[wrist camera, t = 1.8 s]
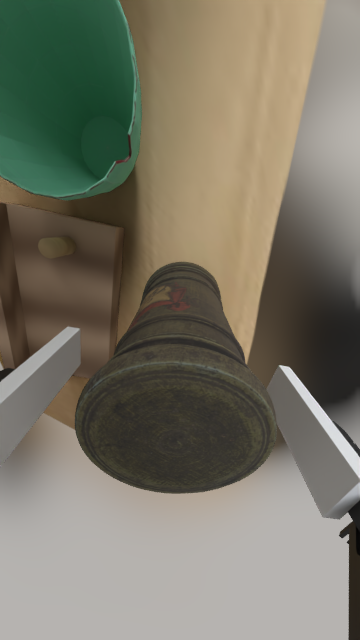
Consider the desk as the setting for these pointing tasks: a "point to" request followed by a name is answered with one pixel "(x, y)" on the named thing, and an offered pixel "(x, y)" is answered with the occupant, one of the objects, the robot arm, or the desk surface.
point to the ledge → (58, 284)
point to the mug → (67, 97)
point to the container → (177, 394)
